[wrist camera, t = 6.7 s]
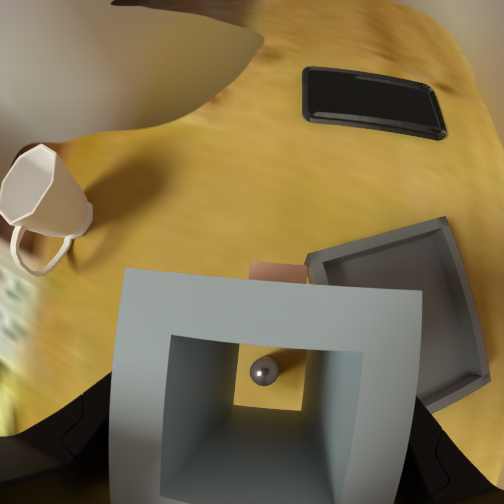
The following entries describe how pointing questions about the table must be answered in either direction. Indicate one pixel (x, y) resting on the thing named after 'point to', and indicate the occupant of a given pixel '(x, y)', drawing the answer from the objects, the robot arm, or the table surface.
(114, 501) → the sleeve
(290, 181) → the table surface
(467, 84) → the table surface
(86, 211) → the cup
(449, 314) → the tray
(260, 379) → the grey metal capsule
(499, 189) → the table surface
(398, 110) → the phone
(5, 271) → the table surface
